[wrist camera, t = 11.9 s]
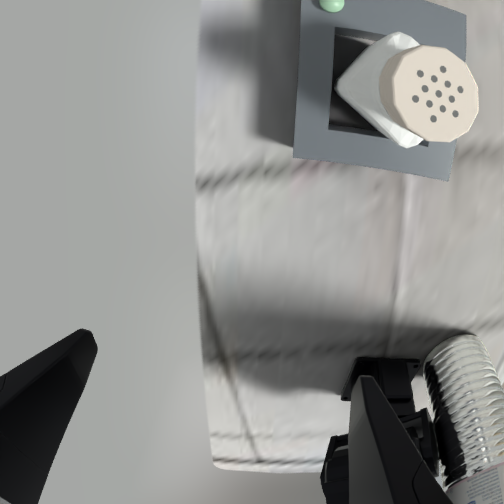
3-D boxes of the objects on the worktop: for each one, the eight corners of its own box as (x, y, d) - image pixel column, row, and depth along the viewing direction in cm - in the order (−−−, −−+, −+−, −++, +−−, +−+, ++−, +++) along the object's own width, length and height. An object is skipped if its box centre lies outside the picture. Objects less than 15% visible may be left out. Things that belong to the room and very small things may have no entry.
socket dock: (433, 169, 17) (451, 183, 15) (294, 148, 18) (292, 159, 16) (448, 20, 12) (469, 14, 10) (302, -9, 13) (301, -25, 11)
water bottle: (423, 339, 24) (455, 627, 3) (488, 323, 22) (555, 582, 1) (417, 384, 27) (433, 618, 6) (475, 369, 25) (514, 588, 4)
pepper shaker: (420, 88, 15) (507, 103, 7) (378, 133, 17) (438, 180, 9) (370, 41, 14) (429, 8, 6) (328, 87, 16) (350, 90, 8)
